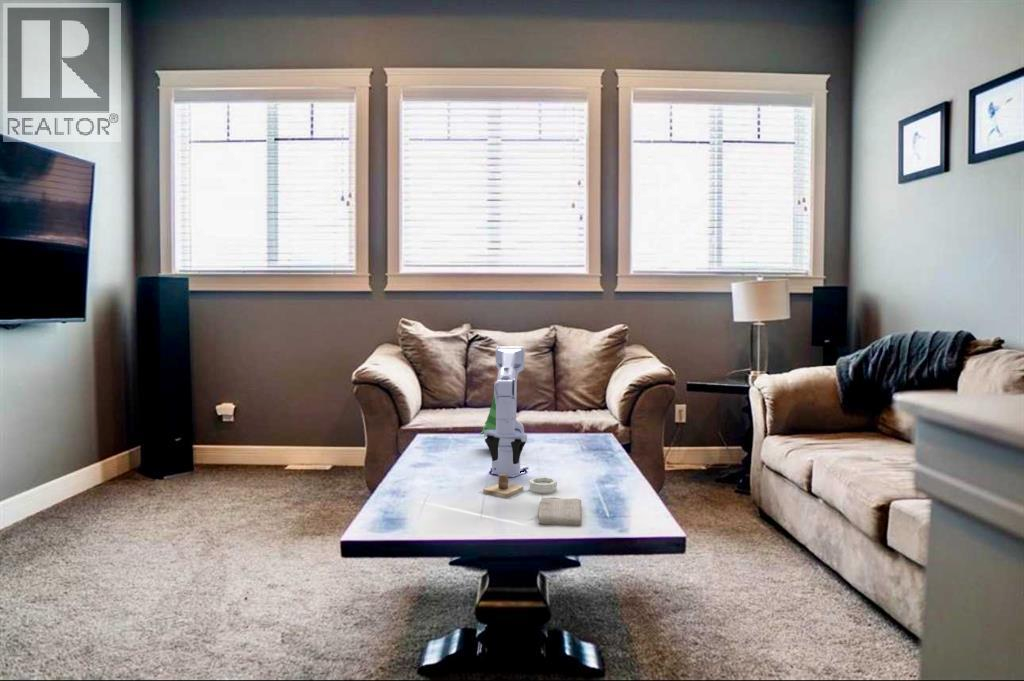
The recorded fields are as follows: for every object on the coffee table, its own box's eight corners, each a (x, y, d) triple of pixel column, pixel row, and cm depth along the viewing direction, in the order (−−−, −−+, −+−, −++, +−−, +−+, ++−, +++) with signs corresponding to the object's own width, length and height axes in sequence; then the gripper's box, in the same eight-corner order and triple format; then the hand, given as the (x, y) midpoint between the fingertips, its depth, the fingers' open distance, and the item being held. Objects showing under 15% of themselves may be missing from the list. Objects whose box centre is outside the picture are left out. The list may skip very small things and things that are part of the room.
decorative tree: (472, 449, 256) (471, 374, 254) (501, 443, 266) (501, 371, 264) (494, 455, 246) (493, 378, 244) (523, 449, 256) (523, 374, 254)
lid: (483, 492, 197) (483, 476, 197) (499, 485, 205) (499, 469, 204) (507, 497, 192) (507, 480, 192) (523, 490, 200) (523, 473, 199)
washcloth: (580, 505, 188) (581, 495, 188) (582, 527, 170) (582, 516, 170) (540, 505, 189) (540, 494, 189) (538, 526, 171) (538, 515, 171)
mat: (478, 494, 197) (478, 492, 197) (496, 486, 206) (496, 484, 206) (510, 501, 191) (510, 499, 191) (528, 492, 199) (528, 490, 199)
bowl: (524, 492, 200) (524, 481, 200) (538, 485, 207) (538, 475, 207) (548, 496, 195) (548, 486, 195) (561, 489, 202) (561, 479, 202)
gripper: (478, 418, 197) (478, 461, 198) (518, 422, 190) (518, 467, 191) (491, 414, 203) (491, 456, 204) (530, 418, 196) (530, 462, 197)
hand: (505, 461), depth 198 cm, fingers open, 7 cm apart
